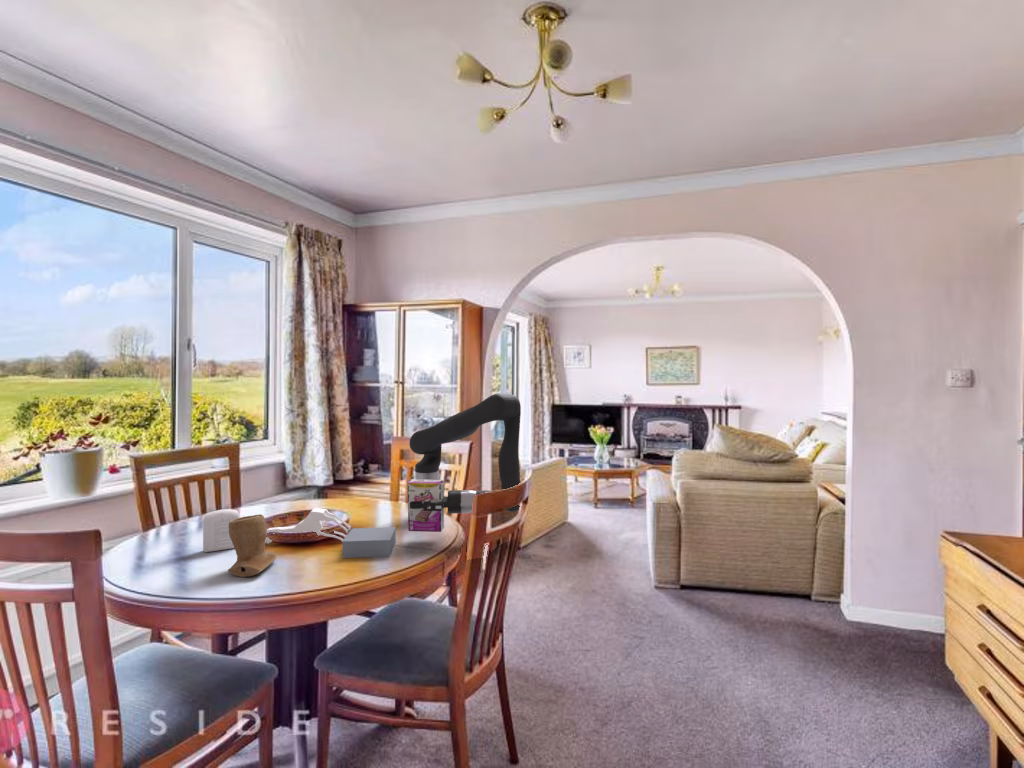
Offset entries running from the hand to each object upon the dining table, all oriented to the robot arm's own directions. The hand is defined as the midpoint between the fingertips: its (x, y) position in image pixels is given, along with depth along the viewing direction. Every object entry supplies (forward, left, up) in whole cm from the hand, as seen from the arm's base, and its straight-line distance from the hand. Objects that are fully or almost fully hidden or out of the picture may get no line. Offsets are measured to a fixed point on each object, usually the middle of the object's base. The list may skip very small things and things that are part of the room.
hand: (411, 502), depth 180 cm
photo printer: (+2, -59, -13) cm, 60 cm away
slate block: (+8, -12, -13) cm, 19 cm away
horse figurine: (-3, -34, -13) cm, 36 cm away
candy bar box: (0, +5, -9) cm, 10 cm away
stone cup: (+22, -43, -13) cm, 50 cm away
